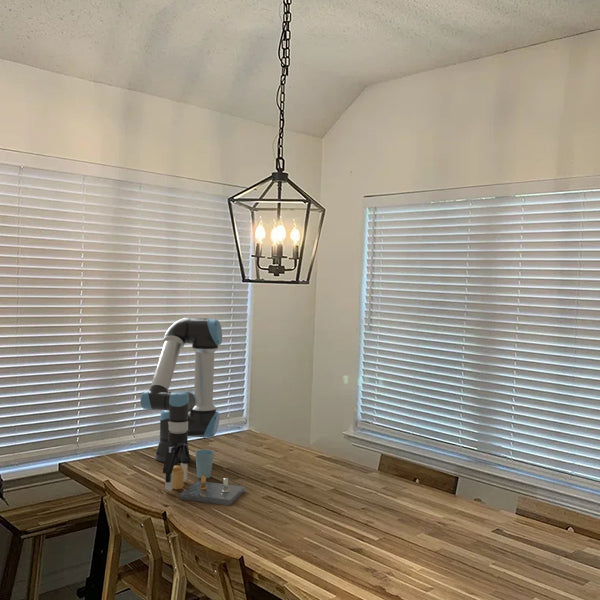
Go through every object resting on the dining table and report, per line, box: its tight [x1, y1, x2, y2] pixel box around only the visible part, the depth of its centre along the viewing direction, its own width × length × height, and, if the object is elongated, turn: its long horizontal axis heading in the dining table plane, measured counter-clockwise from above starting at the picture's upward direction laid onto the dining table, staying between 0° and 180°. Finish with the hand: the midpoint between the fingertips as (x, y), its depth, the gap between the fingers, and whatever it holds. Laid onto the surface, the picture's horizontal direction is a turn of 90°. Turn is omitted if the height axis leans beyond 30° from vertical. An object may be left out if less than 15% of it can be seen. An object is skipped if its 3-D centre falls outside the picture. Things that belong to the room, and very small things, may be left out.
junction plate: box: [179, 475, 245, 506], centre depth 240 cm, size 16×20×7 cm
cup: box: [194, 449, 215, 479], centre depth 263 cm, size 8×8×10 cm
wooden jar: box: [172, 464, 185, 490], centre depth 248 cm, size 5×5×8 cm
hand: (176, 484), depth 248 cm, fingers open, 13 cm apart
